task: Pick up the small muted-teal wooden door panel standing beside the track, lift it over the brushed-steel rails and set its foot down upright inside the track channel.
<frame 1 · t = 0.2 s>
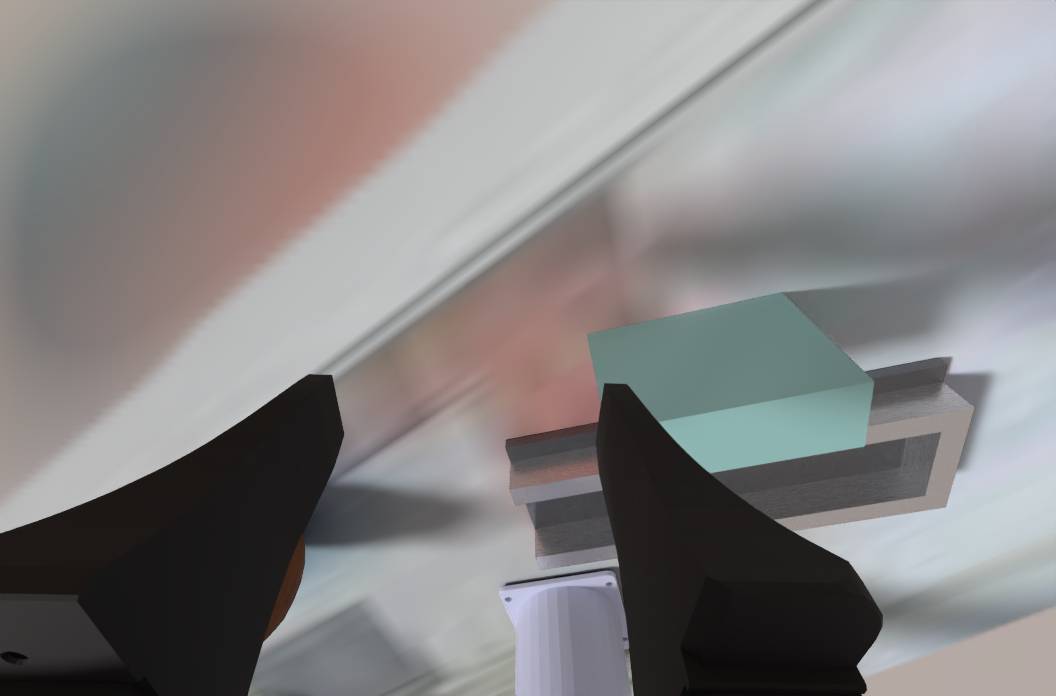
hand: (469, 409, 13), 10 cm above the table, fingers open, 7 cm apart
wooden figurine: (266, 515, 30), on the table
door panel: (684, 339, 24), on the table
track: (714, 462, 28), on the table
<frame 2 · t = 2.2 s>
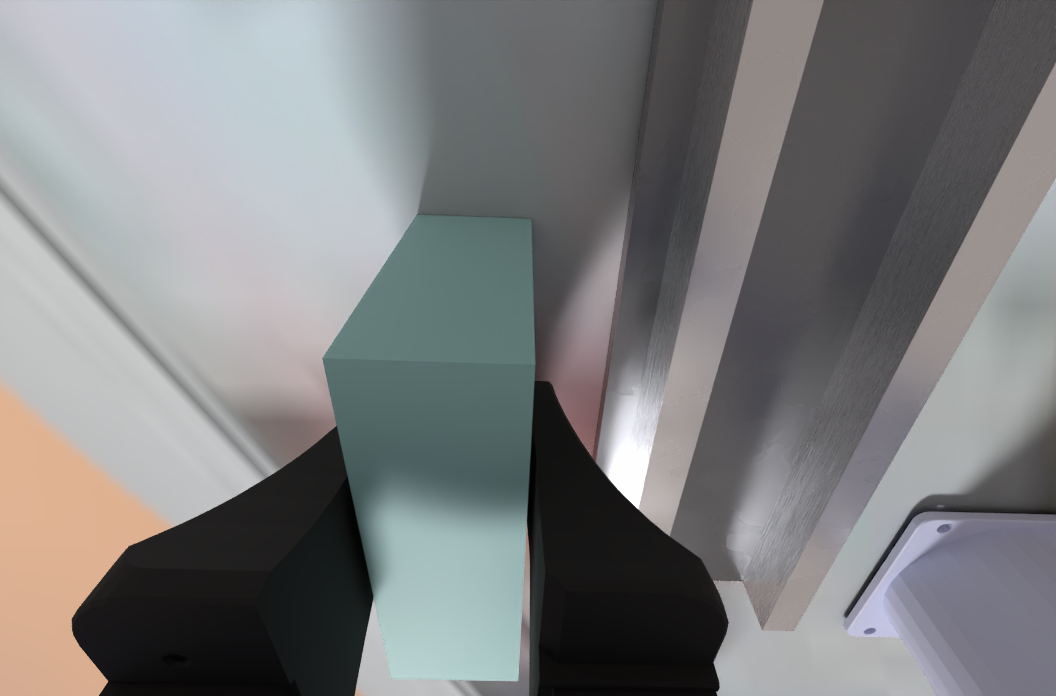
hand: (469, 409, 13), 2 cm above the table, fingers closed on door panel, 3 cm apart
door panel: (477, 360, 15), on the table, touching gripper
track: (757, 341, 15), on the table
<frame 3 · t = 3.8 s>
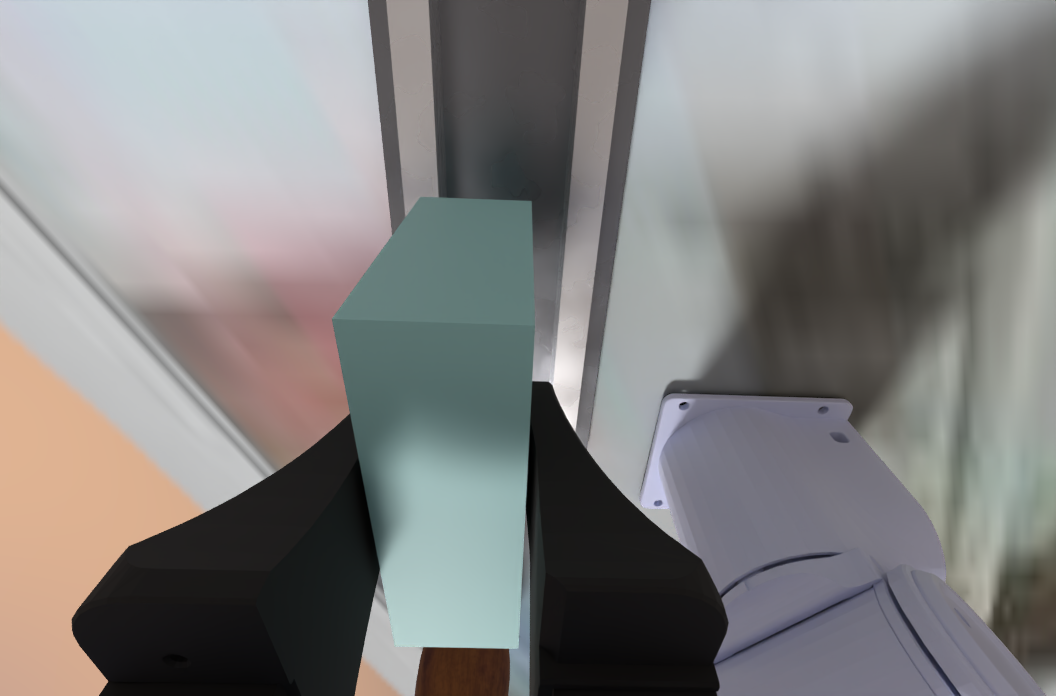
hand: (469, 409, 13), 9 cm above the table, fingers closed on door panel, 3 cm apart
wooden figurine: (469, 610, 35), on the table
door panel: (478, 342, 16), point 6 cm above the table, touching gripper
track: (505, 249, 21), on the table
when the fingers open (4 cm above the table, at t = 5.4 s): door panel stays where it is, resting on track.
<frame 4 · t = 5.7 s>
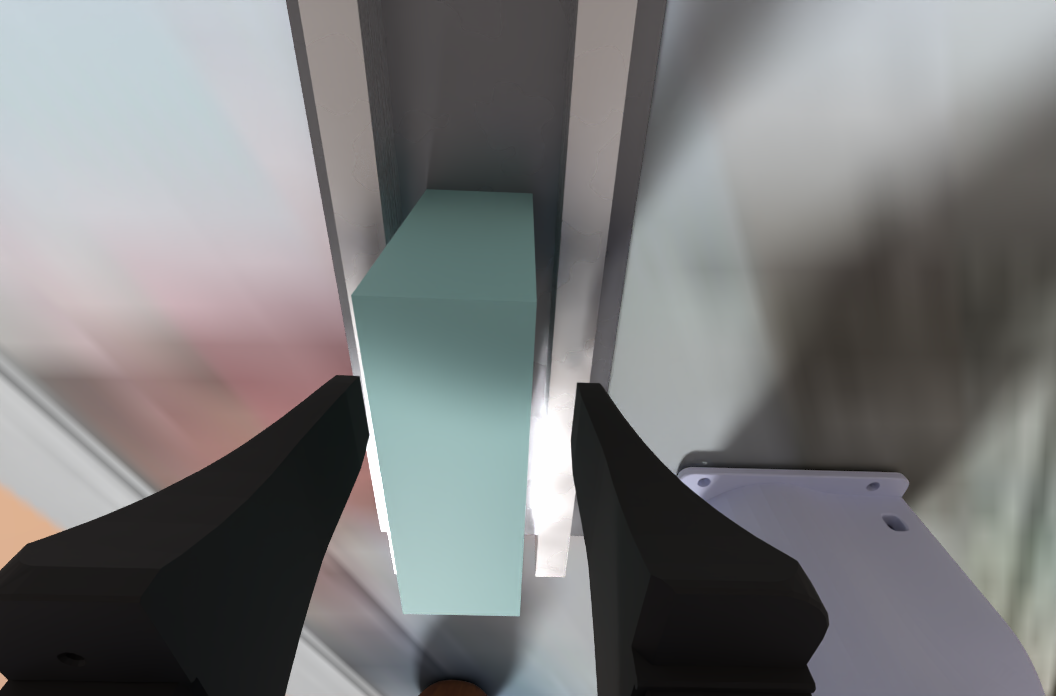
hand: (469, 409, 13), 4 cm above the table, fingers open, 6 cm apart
wooden figurine: (455, 689, 31), on the table
door panel: (481, 329, 16), point 1 cm above the table, touching track
track: (482, 303, 16), on the table
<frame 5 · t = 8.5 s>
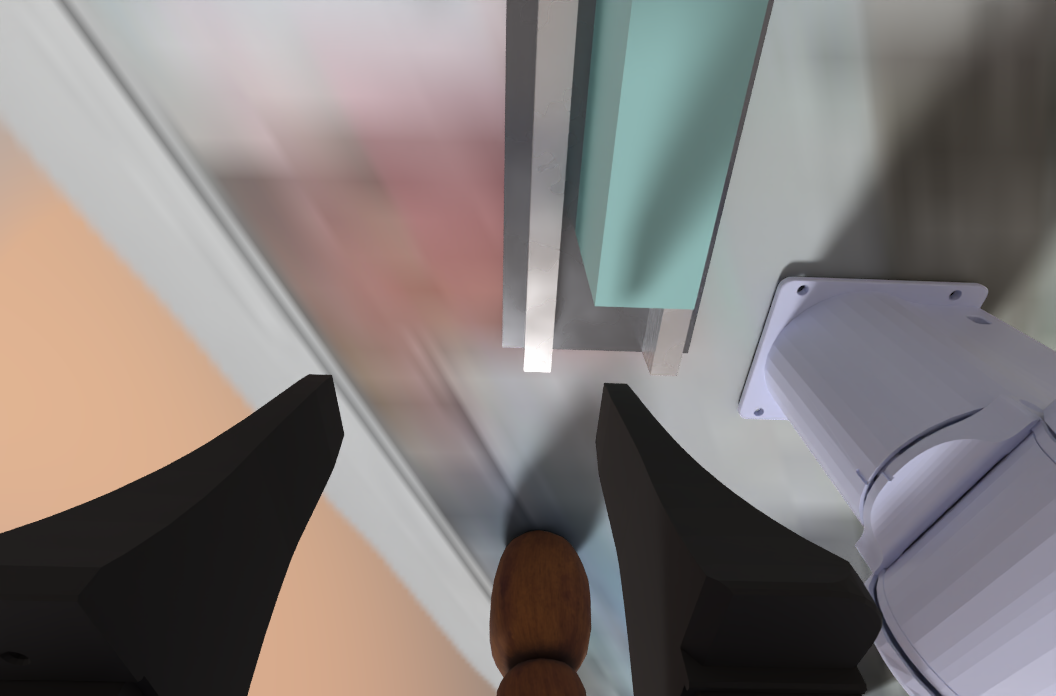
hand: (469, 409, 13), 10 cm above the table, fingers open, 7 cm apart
wooden figurine: (537, 546, 33), on the table
door panel: (625, 115, 18), point 1 cm above the table, touching track
track: (625, 94, 19), on the table
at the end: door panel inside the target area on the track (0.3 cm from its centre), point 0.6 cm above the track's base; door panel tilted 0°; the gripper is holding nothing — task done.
